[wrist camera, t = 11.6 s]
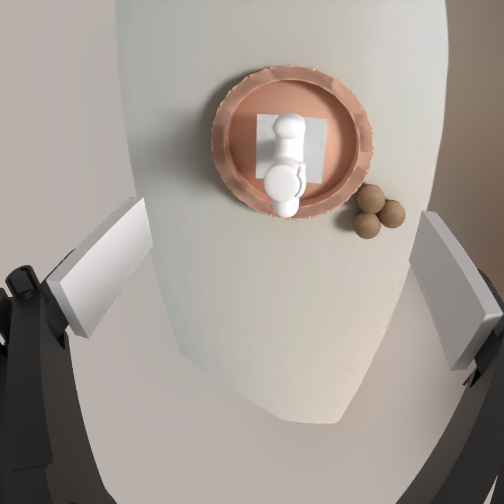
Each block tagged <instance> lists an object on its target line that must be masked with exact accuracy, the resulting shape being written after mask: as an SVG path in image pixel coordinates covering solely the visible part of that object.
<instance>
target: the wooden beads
mask: <svg viewBox="0 0 504 504" xmlns="http://www.w3.org/2000/svg"><path fill="white" fill-rule="evenodd" d="M357 202H358V205H359V207H360V208H361V209H362V210H363V212H360V213H359V214H358V215H357V216H356V217H355V219H354V224H353V226H354V230H355V232H356V234H357V235H358V236H360V237H361V238H364V239H371V238H373V237H375V236H376V235H377V234H378V233H379V231H380V227H381V223H382V224H383V225H384V226H386V227H388V228H397V227H399V226H400V225H401V224H402V223H403V222H404V219H405V210H404V208H403V206H402V205H401V204H400V203H399V202H397V201H395V200H388V201H386V202H385V195H384V193H383V191H382V190H381V189H380V188H379V187H378V186H376V185H371V184H370V185H365V186H363V187H362V188H361V189H360V190H359V192H358V195H357ZM377 212H378V216H379V218H378V216H377V215H376V214H375V213H377ZM379 219H380V220H379ZM380 221H381V223H380Z"/></svg>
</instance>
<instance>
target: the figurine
mask: <svg viewBox="0 0 504 504" xmlns="http://www.w3.org/2000/svg"><path fill="white" fill-rule="evenodd" d="M326 131H327V119H320V118H311V117H301V116H300V115H298V114H296V113H283V114H280V115H269V114H257V140H256V178H261V179H264V188H265V191H266V193H267V194H268V195H269V196H270V197H271V198H272V199H273V200H272V206H273V210H274V212H275V213H276V214H277V215H278V216H280V217H284V218H287V217H291V216H293V215H294V214H295V213H296V212H297V210H298V207H299V197H300V196H301V195H302V194H303V193H304V190H305V187H306V182H309V183H319V184H321V182H322V173H323V164H324V153H325V143H326Z"/></svg>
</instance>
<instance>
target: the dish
mask: <svg viewBox="0 0 504 504" xmlns="http://www.w3.org/2000/svg"><path fill="white" fill-rule="evenodd" d="M249 76H250V77H249ZM249 76H246V77H245V78H244V79H243V80H242V81H241V82H240V83H239V84H237V85H236V86H234V87H233V88H232V89H233V90H229V92H228V94H227V96H226V98H225V99H224V100H223V101H222V102H221V103H220V104H219V105H220V107H218V109H217V113H216V117H215V119H214V121H213V123H212V125H214V126H212V127H211V129H212V138H211V143H210V144H212V146H211V150H212V153H213V157H214V164H216V165H215V167H216V168H217V170H218V171H219V173H220V175H221V178H222V181H225V183H224V184H225V185H226V186H227V187H228V188H229V189H231V191H232V192H233V194H234V195H235V197H236V196H238V198H237V199H239V200H241V201H243V202H245V203H246V204H247V205H248V206H249V207H250V208H252V207H254V209H253V210H257V211H260V212H263V213H265V214H266V215H268V216H270V215H272V217H280V216H278V215H277V214H276V213H275V212H274V210H273V206H272V200H273V199H272V198H271V197H270V196H269V195H268V194H267V193H266V191H265V188H264V179H261V178H256V140H257V114H269V115H280V114H283V113H296V114H298V115H300V116H301V117H311V118H320V119H327V131H326V143H325V153H324V164H323V173H322V182H321V184H319V183H309V182H306V187H305V190H304V193H303V194H302V195H301V196H300V197H299V207H298V210H297V212H296V213H295V214H294V215H293V216H291V217H287V218H284V217H281V218H284V219H288V220H289V218H291V220H294V219H299V218H302V219H309V217H311V218H313V217H315V216H318V215H321V214H327V211H329V212H331V211H332V210H333V209H335V208H336V207H338V206H340V205H342V204H344V201H346V202H347V201H348V199H349V198H350V197H351V195H352V194H354V193H355V192H356V191H358V188H357V187H359V188H360V186H361V184H362V181H363V179H364V178H365V177H366V175H367V174H368V172H367V170H369V168H370V161H371V158H372V156H373V152H372V151H374V150H373V144H372V137H373V132H372V131H371V130H372V128H371V126H370V124H369V122H368V117H367V113H366V112H365V111H364V110H365V109H364V108H363V107H362V105H361V104H360V103H359V102H358V100H357V98H356V96H355V94H354V93H352V91H351V90H349V89H348V88H346V87H345V86H344V85H343V84H342V83H341V82H340V81H339V80H338V79H334V77H333V76H330V75H327V74H324V73H323V72H321V71H319V70H318V69H315V70H313V68H308V67H300V66H297V65H293V66H292V67H291V65H285V66H281V67H270V69H269V68H265V69H263V70H262V71H260V72H258V73H254V74H250V75H249Z"/></svg>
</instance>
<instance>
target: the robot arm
mask: <svg viewBox="0 0 504 504" xmlns="http://www.w3.org/2000/svg"><path fill="white" fill-rule="evenodd" d="M152 247H153V240H152V236H151V231H150V227H149V222H148V217H147V213H146V208H145V203H144V198H143V197H131V198H129V199H128V200H127V201H126V202H125V203H124V204H123V205H121V206H120V207H119V208H118V209H117V210H116V211H115V212H113V213H112V214H111V215H110V216H109V217H108V218H107V219H106V220H105V221H104V222H103V223H101V224H100V225H99V226H98V227H97V228H96V229H95V230H94V231H93V232H92V233H91V234H90V235H89V236H88V237H87V238H86V239H85V240H84V241H83V242H82V243H81V244H80V245H79V246H78V247H77V248H76V249H74V250H72V251H71V252H70V253H69V254H68V255H67V256H66V257H65V258H64V260H62V261H61V262H60V263H59V265H58V266H57V267H56V268H54V270H53V271H52V272H51V273H50V274H49V275H48V276H47V277H46V278H45V279H44V280H43V282H42V283H41V284H40V283H39V281H38V279H37V277H36V274H35V272H34V270H33V268H32V267H31V266H30V265H25V266H21V267H19V268H17V269H15V270H14V271H13V272H11V273H10V274H9V275H8V277H7V278H6V280H5V282H6V284H7V286H8V288H9V290H10V292H11V294H12V295H13V297H8V295H7V294H6V292H5V290H4V289H3V288H0V334H1V336H2V337H3V339H4V340H5V342H4V345H2V344H1V343H0V504H117V503H116V502H115V500H114V499H113V498H112V496H111V495H109V493H108V492H107V490H106V489H105V487H104V485H103V482H102V480H101V477H100V474H99V471H98V468H97V465H96V462H95V459H94V457H93V453H92V450H91V447H90V443H89V440H88V436H87V433H86V429H85V425H84V422H83V417H82V413H81V409H80V404H79V400H78V395H77V390H76V385H75V380H74V374H73V368H72V362H71V355H70V347H69V339H68V335H67V333H66V331H65V329H66V328H67V326H68V325H70V327H71V329H72V330H73V332H74V334H75V335H78V336H81V337H85V338H88V339H89V338H90V336H91V335H92V333H93V332H94V330H95V328H96V327H97V325H98V324H99V322H100V321H101V319H102V318H103V316H104V315H105V313H106V312H107V310H108V309H109V307H110V306H111V304H112V303H113V301H114V300H115V298H116V297H117V295H118V294H119V292H120V291H121V289H122V288H123V287H124V285H125V284H126V282H127V281H128V280H129V278H130V277H131V275H132V274H133V272H134V271H135V270H136V268H137V267H138V265H139V264H140V263H141V261H142V260H143V259H144V257H145V256H146V255H147V253H148V252H149V251H150V249H151V248H152ZM409 262H410V264H411V267H412V269H413V271H414V273H415V276H416V278H417V280H418V283H419V285H420V287H421V290H422V292H423V295H424V297H425V300H426V302H427V305H428V307H429V310H430V313H431V315H432V318H433V321H434V323H435V326H436V329H437V332H438V335H439V338H440V340H441V344H442V347H443V350H444V353H445V356H446V360H447V363H448V366H449V370H450V371H453V370H463V369H467V367H468V366H469V365H470V363H471V362H472V360H473V359H475V362H476V365H477V367H476V368H475V369H474V371H473V372H472V373H471V375H470V376H469V377H468V378H467V380H466V381H465V382H464V383H463V385H464V386H465V385H466V384H467V382H468V384H467V386H466V389H465V391H464V393H463V395H462V397H461V400H460V402H459V404H458V406H457V408H456V410H455V412H454V414H453V416H452V418H451V420H450V422H449V423H448V425H447V427H446V429H445V431H444V433H443V434H442V436H441V438H440V440H439V441H438V443H437V445H436V446H435V448H434V450H433V451H432V453H431V455H430V456H429V458H428V459H427V461H426V463H425V464H424V465H423V467H422V469H421V470H420V472H419V473H418V474H417V476H416V477H415V479H414V480H413V481H412V483H411V484H410V486H409V487H408V489H407V490H406V491H405V492H404V494H403V495H402V496H401V497H400V499H399V500H398V501H397V503H396V504H483V503H484V501H485V500H486V498H487V495H488V494H489V492H490V490H491V488H492V485H493V483H494V481H495V479H496V477H497V475H498V477H497V481H496V485H495V488H494V492H493V495H492V498H491V502H490V504H504V303H503V301H502V300H501V297H500V296H499V295H498V293H497V291H496V289H495V288H493V285H492V283H491V281H490V279H489V278H488V277H487V276H486V275H485V274H484V273H483V272H482V271H481V270H480V269H476V267H475V266H474V264H473V263H472V261H471V260H470V258H469V257H468V255H467V254H466V252H465V251H464V249H463V248H462V246H461V245H460V244H459V242H458V241H457V239H456V238H455V237H454V235H453V234H452V233H451V231H450V230H449V229H448V227H447V226H446V225H445V223H444V222H443V221H442V219H441V218H440V217H439V216H438V214H437V213H436V212H429V211H422V213H421V218H420V222H419V226H418V230H417V233H416V237H415V241H414V245H413V248H412V252H411V255H410V258H409Z"/></svg>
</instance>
